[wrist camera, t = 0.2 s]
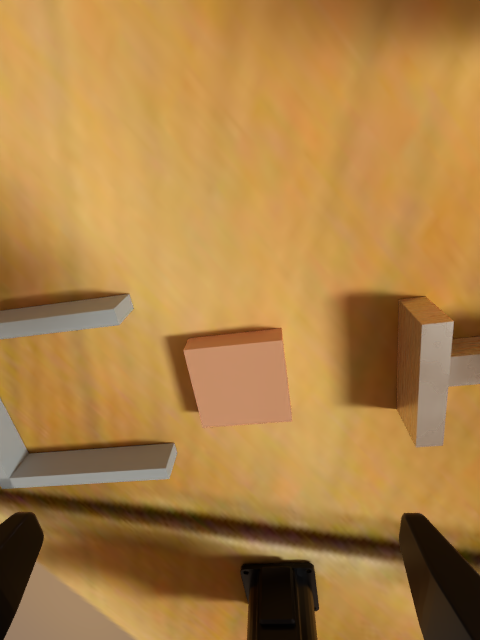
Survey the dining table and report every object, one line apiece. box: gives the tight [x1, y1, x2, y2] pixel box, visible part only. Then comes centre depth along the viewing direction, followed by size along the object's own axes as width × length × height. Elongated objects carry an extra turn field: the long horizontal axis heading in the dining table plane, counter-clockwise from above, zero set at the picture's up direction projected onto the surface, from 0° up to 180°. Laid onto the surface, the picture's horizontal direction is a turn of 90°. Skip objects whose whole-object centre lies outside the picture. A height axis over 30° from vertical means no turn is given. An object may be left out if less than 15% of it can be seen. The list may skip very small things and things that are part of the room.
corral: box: [0, 294, 177, 489], centre depth 24 cm, size 13×13×2 cm
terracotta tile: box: [183, 328, 292, 428], centre depth 23 cm, size 6×6×2 cm
